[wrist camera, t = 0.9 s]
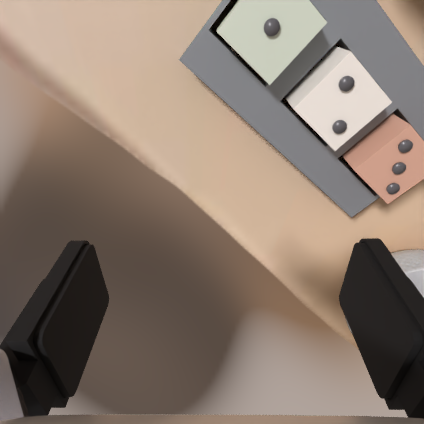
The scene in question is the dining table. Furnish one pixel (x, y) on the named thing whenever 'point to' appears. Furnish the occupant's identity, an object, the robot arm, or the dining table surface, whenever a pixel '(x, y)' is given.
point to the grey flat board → (274, 93)
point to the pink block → (389, 158)
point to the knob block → (270, 32)
